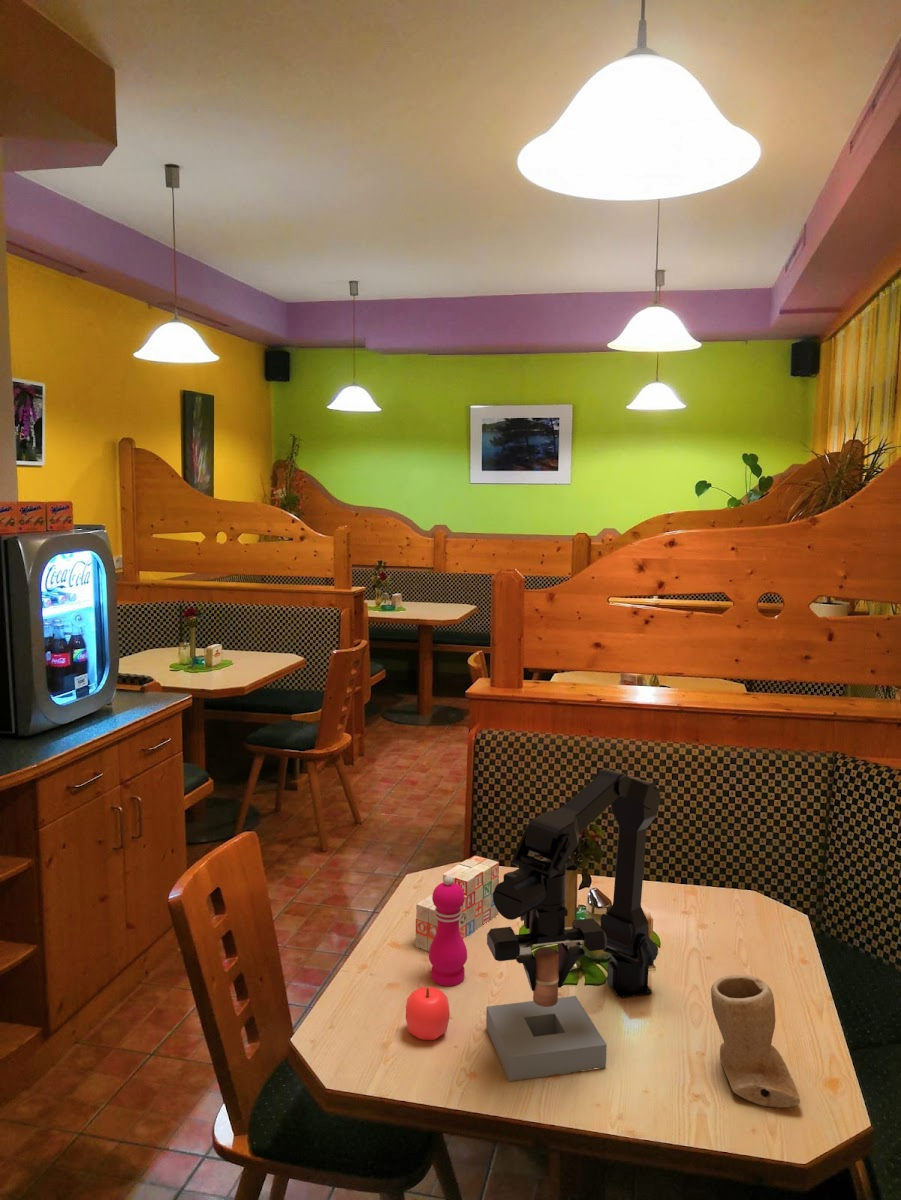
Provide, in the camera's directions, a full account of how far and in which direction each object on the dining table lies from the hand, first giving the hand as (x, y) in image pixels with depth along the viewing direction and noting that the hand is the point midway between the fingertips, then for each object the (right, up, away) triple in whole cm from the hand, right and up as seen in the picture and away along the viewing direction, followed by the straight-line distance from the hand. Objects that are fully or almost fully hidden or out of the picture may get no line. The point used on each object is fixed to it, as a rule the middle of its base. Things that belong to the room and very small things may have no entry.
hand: (545, 988), depth 147 cm
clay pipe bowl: (+31, -12, -6) cm, 34 cm away
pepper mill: (-16, -8, +22) cm, 28 cm away
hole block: (0, -10, +1) cm, 10 cm away
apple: (-19, -10, +5) cm, 22 cm away
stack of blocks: (-14, -6, +40) cm, 43 cm away
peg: (0, -2, 0) cm, 2 cm away
